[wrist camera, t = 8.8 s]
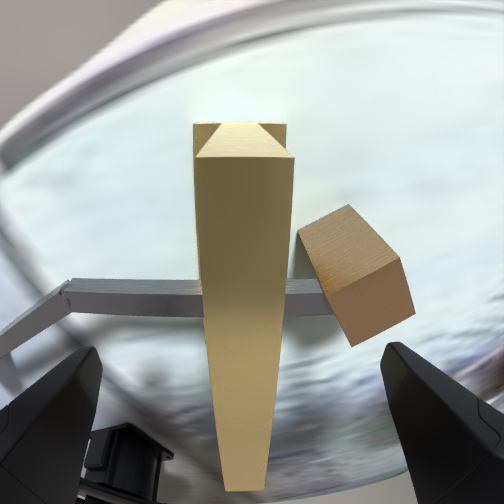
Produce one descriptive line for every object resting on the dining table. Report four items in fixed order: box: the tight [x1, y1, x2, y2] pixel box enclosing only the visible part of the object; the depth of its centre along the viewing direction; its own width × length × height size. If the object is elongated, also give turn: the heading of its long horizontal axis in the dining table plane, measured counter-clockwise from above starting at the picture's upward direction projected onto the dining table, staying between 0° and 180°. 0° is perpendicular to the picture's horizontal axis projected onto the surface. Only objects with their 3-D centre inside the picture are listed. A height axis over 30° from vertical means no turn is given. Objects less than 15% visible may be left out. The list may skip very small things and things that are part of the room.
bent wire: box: [0, 204, 416, 358], centre depth 15 cm, size 9×30×6 cm, turn 119°
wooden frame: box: [193, 122, 294, 491], centre depth 12 cm, size 12×4×10 cm, turn 179°
